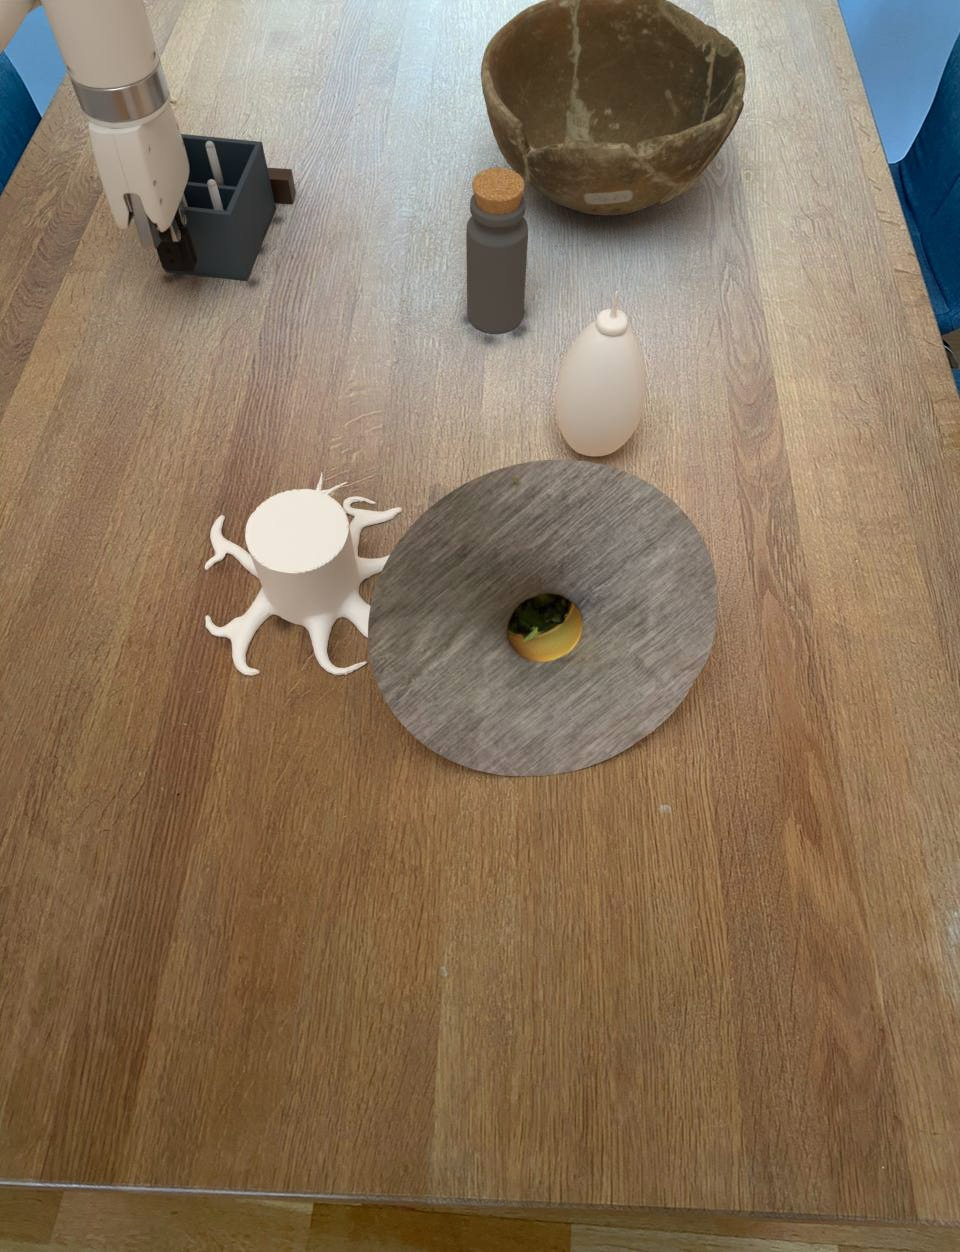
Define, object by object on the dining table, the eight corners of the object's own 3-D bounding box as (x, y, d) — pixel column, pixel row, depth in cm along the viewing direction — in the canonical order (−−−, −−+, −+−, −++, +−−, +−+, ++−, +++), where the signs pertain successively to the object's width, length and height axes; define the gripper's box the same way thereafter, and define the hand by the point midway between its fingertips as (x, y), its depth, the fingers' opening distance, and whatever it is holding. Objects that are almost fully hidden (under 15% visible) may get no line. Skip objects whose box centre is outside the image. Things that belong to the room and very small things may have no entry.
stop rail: (292, 204, 106) (288, 180, 103) (153, 195, 107) (145, 171, 104) (296, 192, 107) (291, 168, 104) (158, 184, 108) (150, 160, 105)
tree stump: (446, 513, 85) (443, 453, 78) (392, 704, 75) (384, 656, 68) (234, 476, 87) (213, 415, 80) (156, 658, 77) (124, 607, 70)
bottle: (527, 298, 99) (535, 166, 86) (518, 337, 96) (525, 207, 83) (472, 291, 99) (472, 159, 86) (462, 330, 96) (460, 200, 83)
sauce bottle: (639, 475, 87) (675, 324, 71) (555, 479, 87) (573, 329, 71) (626, 411, 91) (658, 255, 75) (546, 415, 91) (561, 259, 75)
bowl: (651, 308, 98) (678, 177, 85) (435, 218, 105) (429, 85, 92) (757, 167, 110) (795, 33, 97) (556, 95, 117) (566, -39, 104)
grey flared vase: (689, 678, 84) (657, 400, 76) (746, 771, 68) (713, 429, 60) (416, 726, 85) (356, 456, 77) (406, 829, 69) (328, 500, 61)
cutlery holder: (247, 281, 100) (226, 201, 92) (165, 272, 100) (137, 192, 92) (276, 208, 106) (259, 128, 97) (198, 200, 106) (175, 120, 98)
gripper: (102, 34, 83) (163, 216, 99) (50, 137, 76) (124, 315, 92) (185, 38, 83) (233, 220, 99) (141, 141, 76) (200, 320, 91)
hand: (180, 265), depth 95 cm, fingers closed
